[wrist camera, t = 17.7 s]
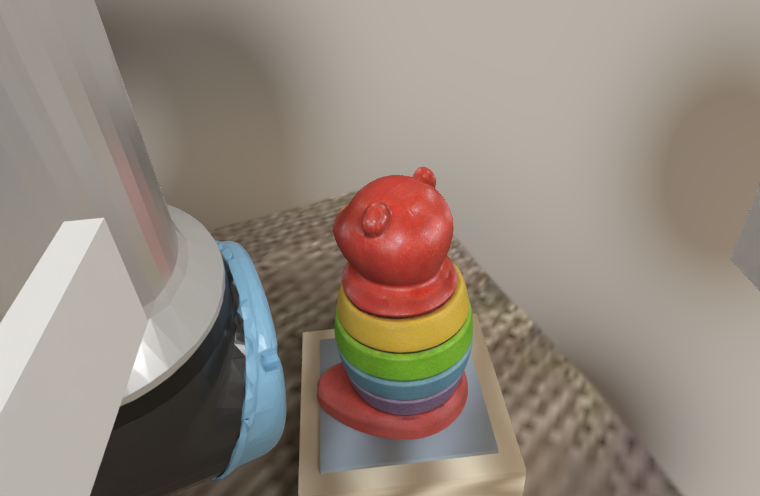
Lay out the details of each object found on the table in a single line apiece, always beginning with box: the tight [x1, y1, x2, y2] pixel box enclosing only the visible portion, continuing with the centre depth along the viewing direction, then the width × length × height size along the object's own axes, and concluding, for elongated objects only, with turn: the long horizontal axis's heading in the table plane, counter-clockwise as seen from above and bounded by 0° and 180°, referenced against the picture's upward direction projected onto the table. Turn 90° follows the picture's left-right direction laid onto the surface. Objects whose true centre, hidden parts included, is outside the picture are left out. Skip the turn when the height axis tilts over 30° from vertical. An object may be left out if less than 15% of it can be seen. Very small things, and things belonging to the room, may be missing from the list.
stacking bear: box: [317, 167, 473, 440], centre depth 38 cm, size 11×10×18 cm
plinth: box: [298, 314, 526, 496], centre depth 45 cm, size 15×15×4 cm
